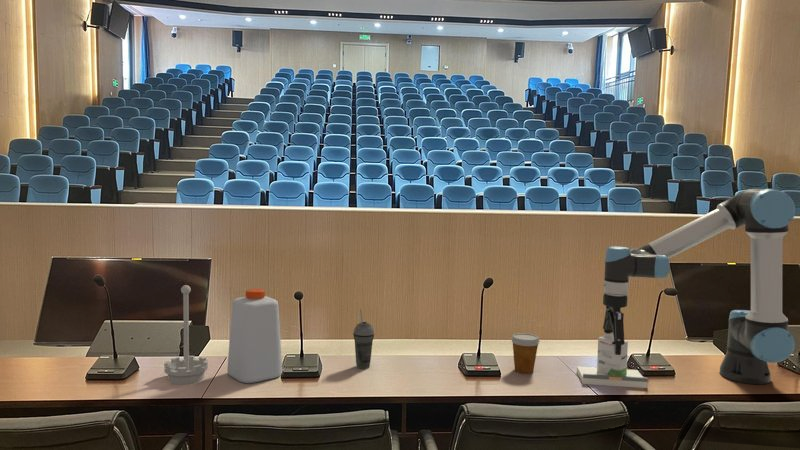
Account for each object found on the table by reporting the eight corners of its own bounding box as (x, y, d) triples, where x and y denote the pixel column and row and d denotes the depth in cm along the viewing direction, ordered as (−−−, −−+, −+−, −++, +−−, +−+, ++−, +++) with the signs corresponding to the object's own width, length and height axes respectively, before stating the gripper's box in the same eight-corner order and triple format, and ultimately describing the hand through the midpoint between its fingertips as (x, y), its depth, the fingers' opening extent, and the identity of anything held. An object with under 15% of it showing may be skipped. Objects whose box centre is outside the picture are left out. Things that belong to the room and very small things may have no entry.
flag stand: (212, 381, 188) (212, 287, 186) (168, 388, 182) (167, 290, 179) (202, 369, 199) (202, 280, 197) (161, 375, 193) (160, 283, 190)
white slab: (637, 375, 204) (637, 366, 204) (647, 388, 192) (647, 378, 192) (576, 372, 206) (577, 362, 206) (583, 384, 194) (583, 374, 194)
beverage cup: (373, 370, 202) (374, 312, 201) (351, 370, 202) (352, 311, 201) (374, 363, 210) (375, 307, 208) (353, 363, 210) (354, 306, 208)
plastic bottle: (222, 373, 196) (222, 289, 193) (264, 364, 206) (265, 284, 203) (244, 386, 184) (244, 297, 182) (287, 376, 194) (288, 291, 192)
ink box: (627, 376, 197) (629, 340, 196) (618, 378, 194) (620, 343, 193) (604, 368, 204) (606, 334, 203) (595, 371, 201) (597, 336, 200)
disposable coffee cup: (542, 369, 208) (543, 335, 207) (532, 377, 200) (534, 341, 199) (516, 364, 213) (517, 331, 212) (505, 371, 205) (507, 337, 204)
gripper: (596, 286, 209) (592, 346, 211) (612, 300, 185) (608, 368, 187) (618, 287, 208) (615, 348, 210) (637, 302, 184) (633, 370, 186)
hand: (611, 357), depth 198 cm, fingers open, 12 cm apart
